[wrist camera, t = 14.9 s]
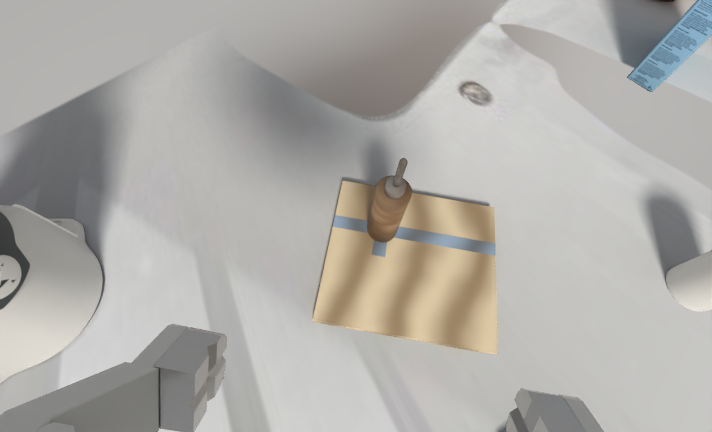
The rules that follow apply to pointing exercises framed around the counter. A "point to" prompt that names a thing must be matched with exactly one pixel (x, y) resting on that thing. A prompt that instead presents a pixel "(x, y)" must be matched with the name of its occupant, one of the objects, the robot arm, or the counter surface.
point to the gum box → (675, 46)
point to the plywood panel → (413, 272)
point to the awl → (389, 205)
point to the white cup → (692, 283)
